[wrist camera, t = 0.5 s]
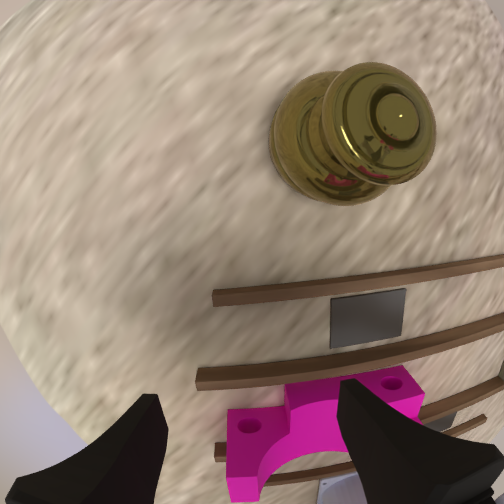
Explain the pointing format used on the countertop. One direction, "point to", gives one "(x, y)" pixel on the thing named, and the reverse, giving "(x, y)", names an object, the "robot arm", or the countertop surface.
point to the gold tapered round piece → (352, 133)
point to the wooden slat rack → (357, 332)
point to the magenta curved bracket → (302, 426)
